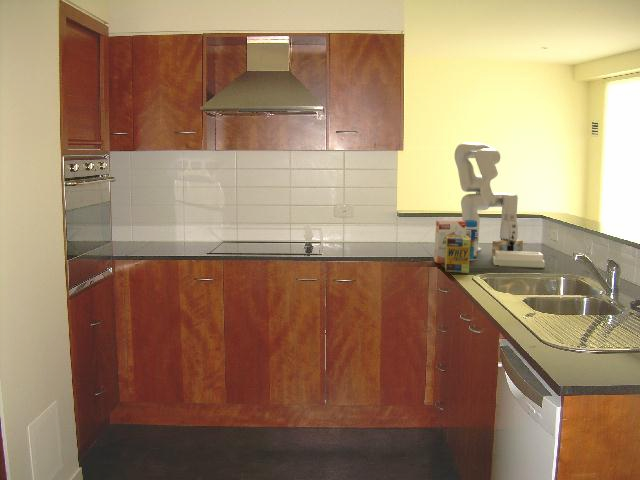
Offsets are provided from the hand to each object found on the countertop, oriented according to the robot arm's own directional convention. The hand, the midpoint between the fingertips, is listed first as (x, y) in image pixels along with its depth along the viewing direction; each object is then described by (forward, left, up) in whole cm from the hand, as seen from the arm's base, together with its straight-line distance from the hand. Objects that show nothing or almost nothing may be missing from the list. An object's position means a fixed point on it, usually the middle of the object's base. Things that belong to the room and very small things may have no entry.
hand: (507, 251), depth 318 cm
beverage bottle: (-20, -11, -3) cm, 23 cm away
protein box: (-27, -41, -3) cm, 49 cm away
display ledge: (+3, -21, -3) cm, 21 cm away
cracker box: (-30, -23, -3) cm, 38 cm away
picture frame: (0, 0, -3) cm, 3 cm away
